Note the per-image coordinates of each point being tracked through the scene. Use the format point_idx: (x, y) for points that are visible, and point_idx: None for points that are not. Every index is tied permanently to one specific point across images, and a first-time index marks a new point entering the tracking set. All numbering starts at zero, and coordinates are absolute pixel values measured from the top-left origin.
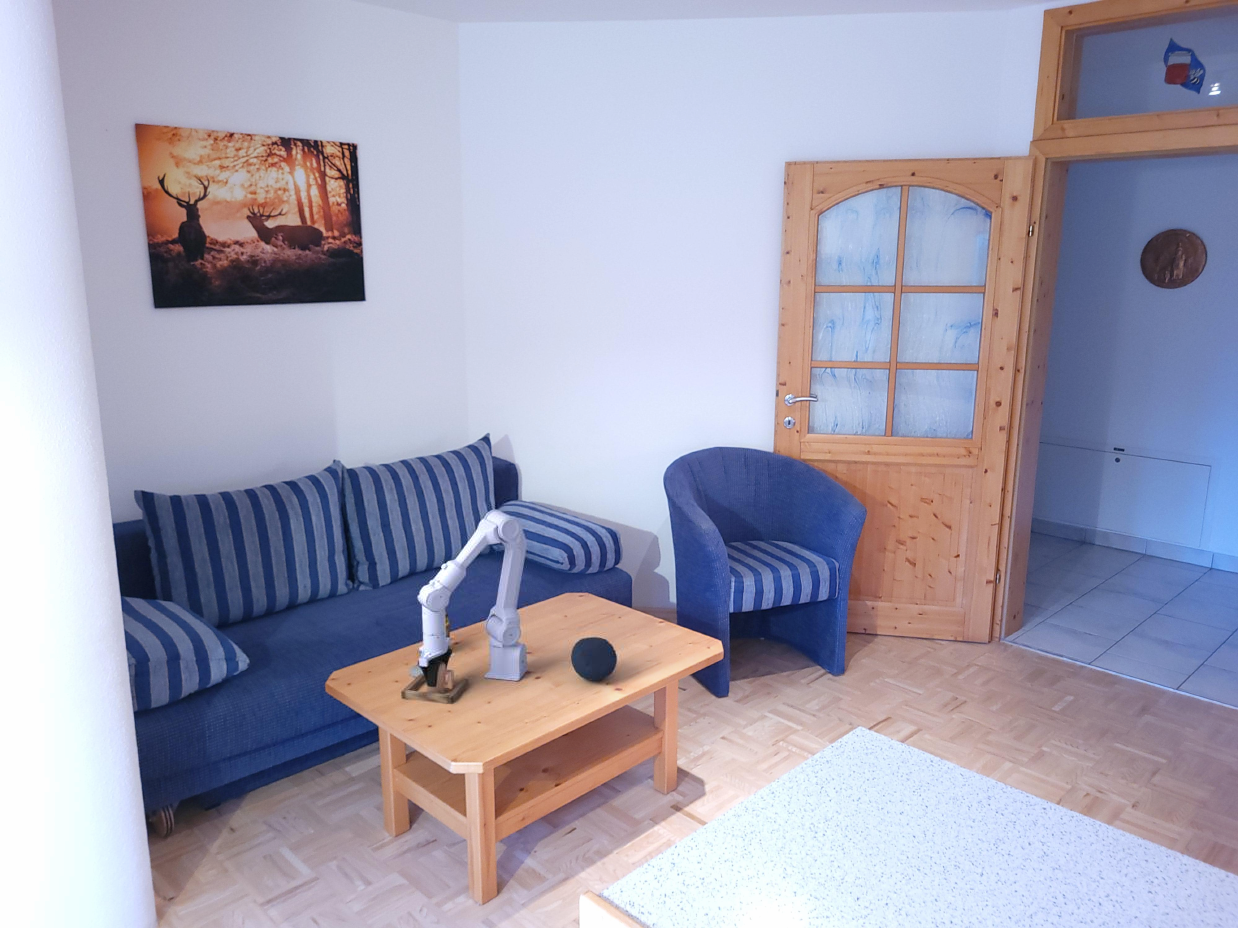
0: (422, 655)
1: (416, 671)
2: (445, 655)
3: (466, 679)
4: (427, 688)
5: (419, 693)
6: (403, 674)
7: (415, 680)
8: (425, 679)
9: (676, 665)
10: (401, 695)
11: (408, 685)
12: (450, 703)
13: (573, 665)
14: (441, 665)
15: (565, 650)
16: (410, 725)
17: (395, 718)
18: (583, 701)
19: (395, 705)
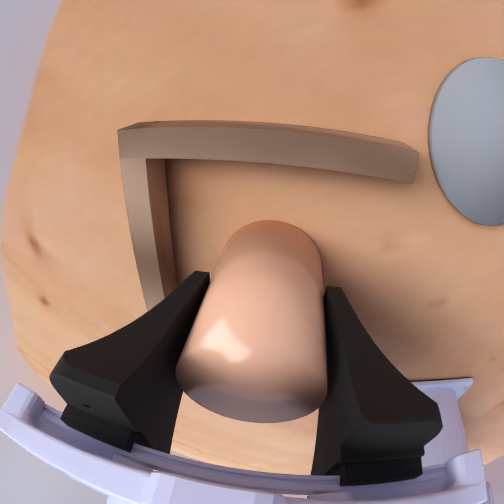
0: (41, 451)
1: (485, 101)
2: (316, 461)
3: None
4: (231, 243)
5: (133, 238)
6: (457, 26)
7: (300, 148)
8: (174, 290)
9: None
10: (130, 125)
11: (207, 131)
12: None
13: None
14: (252, 411)
15: (487, 430)
16: (19, 253)
17: (17, 193)
18: None
19: (74, 136)
